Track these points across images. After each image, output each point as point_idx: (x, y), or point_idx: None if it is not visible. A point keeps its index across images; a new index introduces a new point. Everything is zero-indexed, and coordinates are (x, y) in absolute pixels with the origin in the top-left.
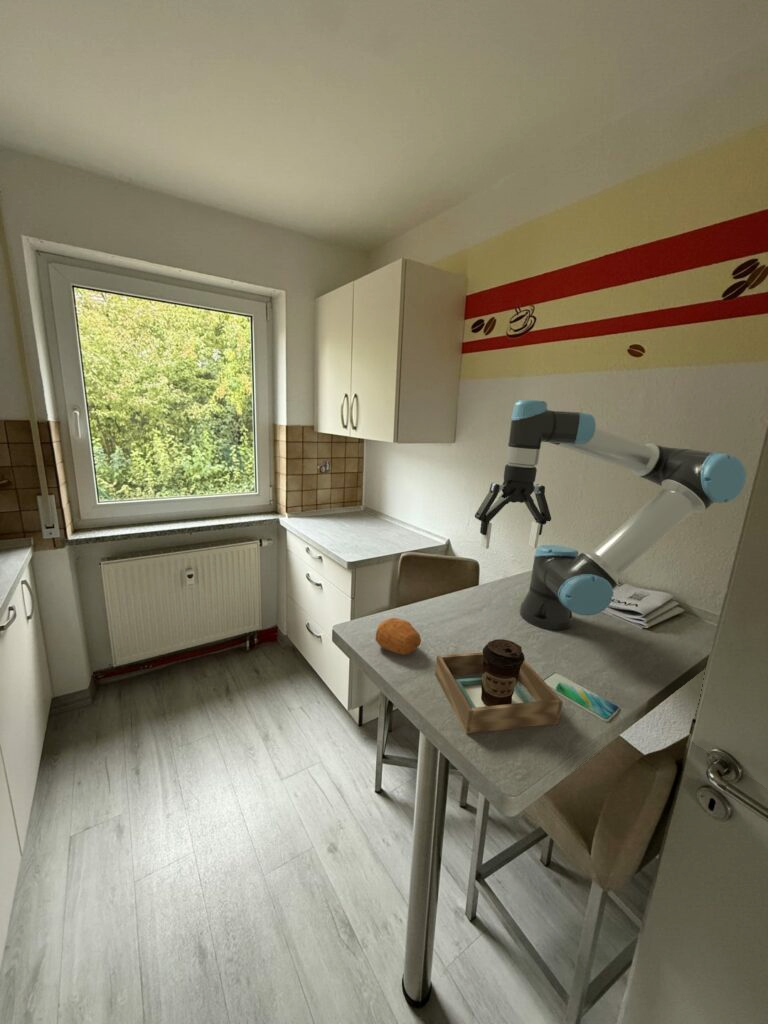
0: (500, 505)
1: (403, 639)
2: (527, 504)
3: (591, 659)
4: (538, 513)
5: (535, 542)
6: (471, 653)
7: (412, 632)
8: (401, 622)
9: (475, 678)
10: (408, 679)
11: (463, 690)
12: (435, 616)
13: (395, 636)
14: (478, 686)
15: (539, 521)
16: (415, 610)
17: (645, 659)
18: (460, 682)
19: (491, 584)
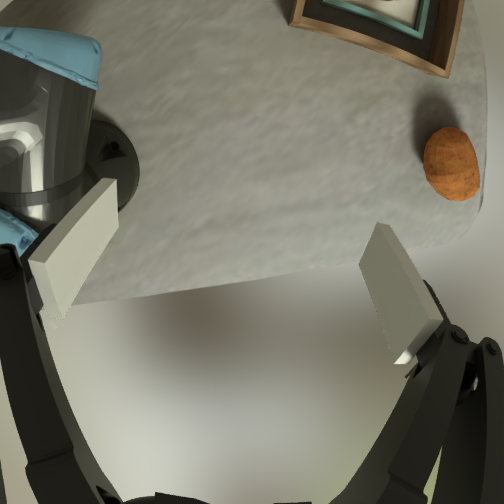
0: (430, 450)
1: (469, 142)
2: (85, 452)
3: (107, 23)
4: (10, 334)
5: (100, 193)
6: (391, 51)
7: (456, 147)
8: (463, 176)
9: (390, 23)
10: (464, 87)
11: (424, 15)
12: (317, 224)
13: (474, 155)
14: (386, 15)
15: (26, 282)
16: (339, 251)
17: (26, 26)
18: (419, 29)
19: (133, 296)
